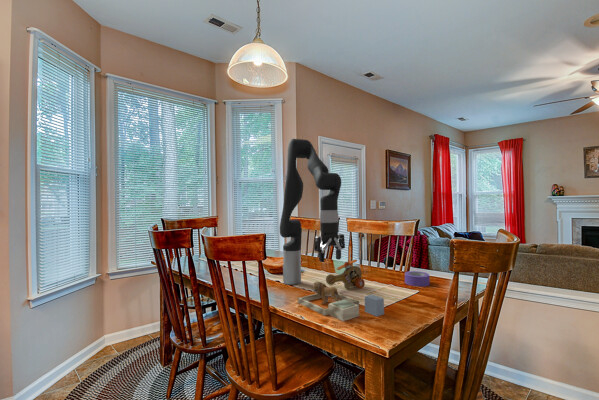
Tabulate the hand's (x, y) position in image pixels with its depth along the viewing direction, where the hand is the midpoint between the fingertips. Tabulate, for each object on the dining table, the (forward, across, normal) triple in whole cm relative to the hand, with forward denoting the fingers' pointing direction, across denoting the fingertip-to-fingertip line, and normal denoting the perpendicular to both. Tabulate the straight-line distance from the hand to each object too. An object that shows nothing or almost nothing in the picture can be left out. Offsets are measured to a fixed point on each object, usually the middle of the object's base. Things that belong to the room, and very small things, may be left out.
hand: (330, 260), depth 123 cm
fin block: (+18, -8, +16) cm, 26 cm away
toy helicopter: (+18, -20, -14) cm, 31 cm away
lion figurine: (+18, 0, -1) cm, 18 cm away
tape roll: (+19, -56, +1) cm, 59 cm away
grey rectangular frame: (+18, 0, +2) cm, 18 cm away
